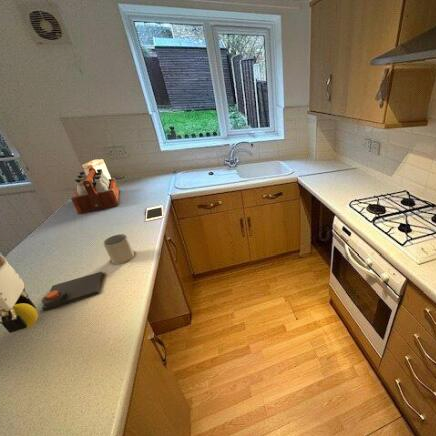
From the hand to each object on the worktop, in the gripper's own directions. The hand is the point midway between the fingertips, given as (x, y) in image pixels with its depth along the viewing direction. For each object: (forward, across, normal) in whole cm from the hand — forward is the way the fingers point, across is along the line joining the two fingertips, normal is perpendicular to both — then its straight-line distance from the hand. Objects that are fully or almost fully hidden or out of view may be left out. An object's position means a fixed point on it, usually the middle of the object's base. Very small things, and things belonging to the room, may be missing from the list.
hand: (23, 319), depth 62 cm
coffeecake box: (+14, -155, -3) cm, 155 cm away
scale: (+13, -24, +3) cm, 27 cm away
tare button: (+10, -20, -2) cm, 22 cm away
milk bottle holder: (+14, -120, 0) cm, 120 cm away
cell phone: (+12, -78, +30) cm, 85 cm away
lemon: (+3, 0, 0) cm, 3 cm away
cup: (+13, -38, +17) cm, 43 cm away
